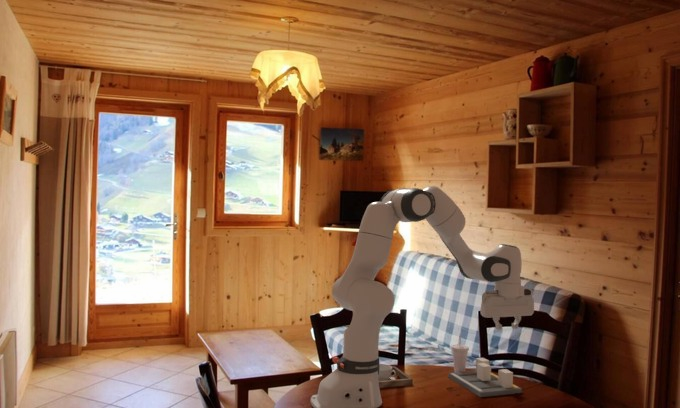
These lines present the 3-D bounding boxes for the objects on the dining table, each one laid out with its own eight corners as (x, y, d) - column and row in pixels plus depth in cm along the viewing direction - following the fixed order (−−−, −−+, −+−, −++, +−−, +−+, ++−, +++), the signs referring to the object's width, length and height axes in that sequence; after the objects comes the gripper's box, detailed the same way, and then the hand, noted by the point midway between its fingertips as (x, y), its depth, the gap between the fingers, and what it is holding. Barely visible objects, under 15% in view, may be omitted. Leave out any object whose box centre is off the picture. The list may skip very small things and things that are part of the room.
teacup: (364, 382, 192) (364, 369, 192) (371, 374, 202) (371, 361, 202) (392, 386, 189) (392, 372, 189) (398, 377, 199) (398, 364, 199)
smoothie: (448, 373, 204) (449, 335, 204) (453, 368, 210) (454, 332, 210) (465, 376, 201) (466, 338, 201) (470, 371, 207) (471, 334, 207)
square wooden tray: (372, 388, 186) (372, 382, 186) (357, 374, 200) (357, 369, 200) (412, 384, 190) (412, 379, 190) (394, 371, 204) (395, 366, 204)
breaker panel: (480, 397, 180) (480, 377, 180) (448, 377, 200) (448, 359, 200) (521, 392, 185) (522, 373, 185) (486, 373, 205) (486, 356, 205)
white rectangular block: (483, 381, 190) (483, 366, 190) (476, 377, 194) (477, 363, 194) (490, 380, 191) (491, 366, 191) (484, 376, 195) (484, 362, 195)
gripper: (487, 292, 189) (486, 332, 189) (537, 290, 195) (536, 329, 195) (477, 289, 195) (476, 328, 195) (526, 287, 201) (525, 325, 201)
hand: (506, 328), depth 195 cm, fingers open, 5 cm apart
